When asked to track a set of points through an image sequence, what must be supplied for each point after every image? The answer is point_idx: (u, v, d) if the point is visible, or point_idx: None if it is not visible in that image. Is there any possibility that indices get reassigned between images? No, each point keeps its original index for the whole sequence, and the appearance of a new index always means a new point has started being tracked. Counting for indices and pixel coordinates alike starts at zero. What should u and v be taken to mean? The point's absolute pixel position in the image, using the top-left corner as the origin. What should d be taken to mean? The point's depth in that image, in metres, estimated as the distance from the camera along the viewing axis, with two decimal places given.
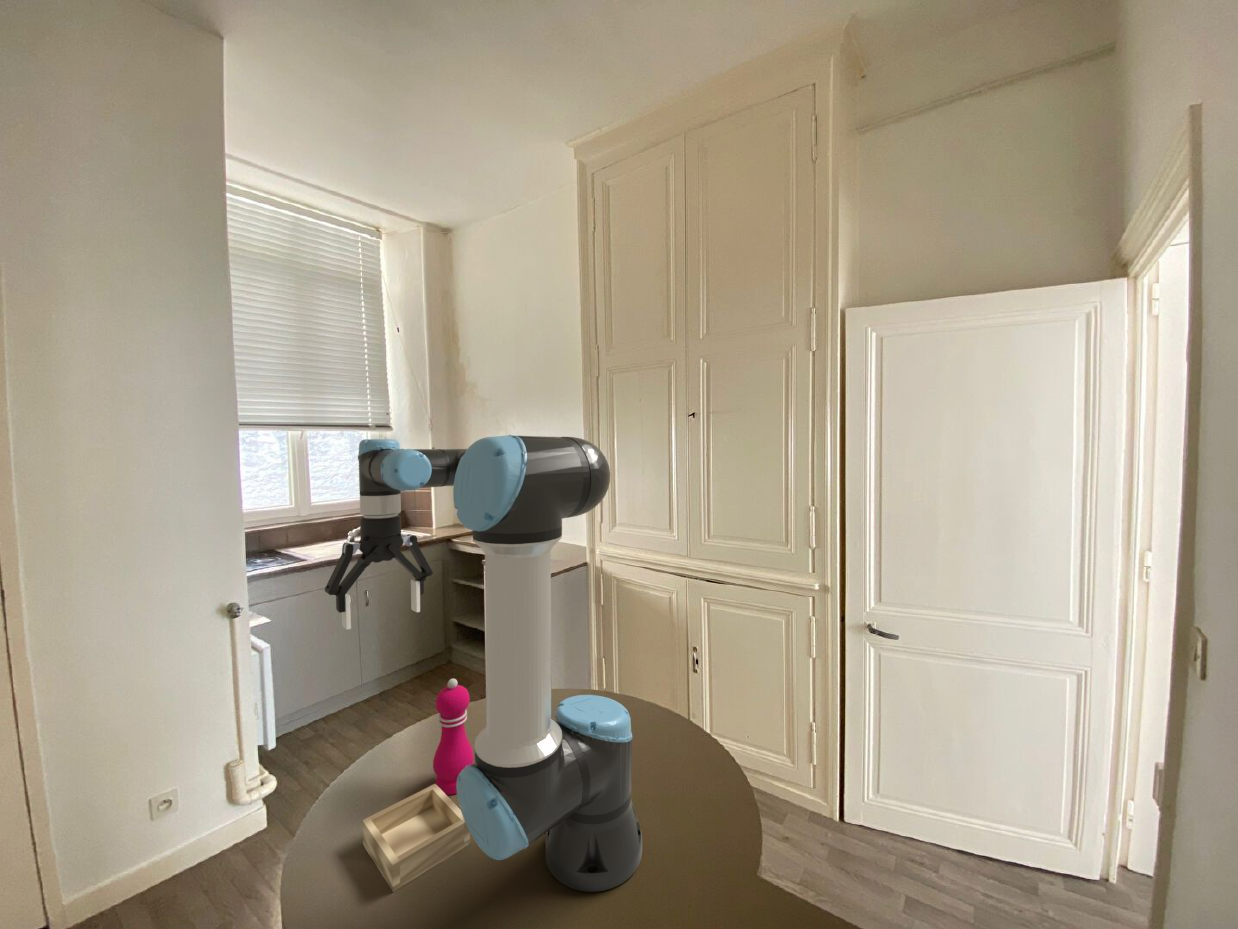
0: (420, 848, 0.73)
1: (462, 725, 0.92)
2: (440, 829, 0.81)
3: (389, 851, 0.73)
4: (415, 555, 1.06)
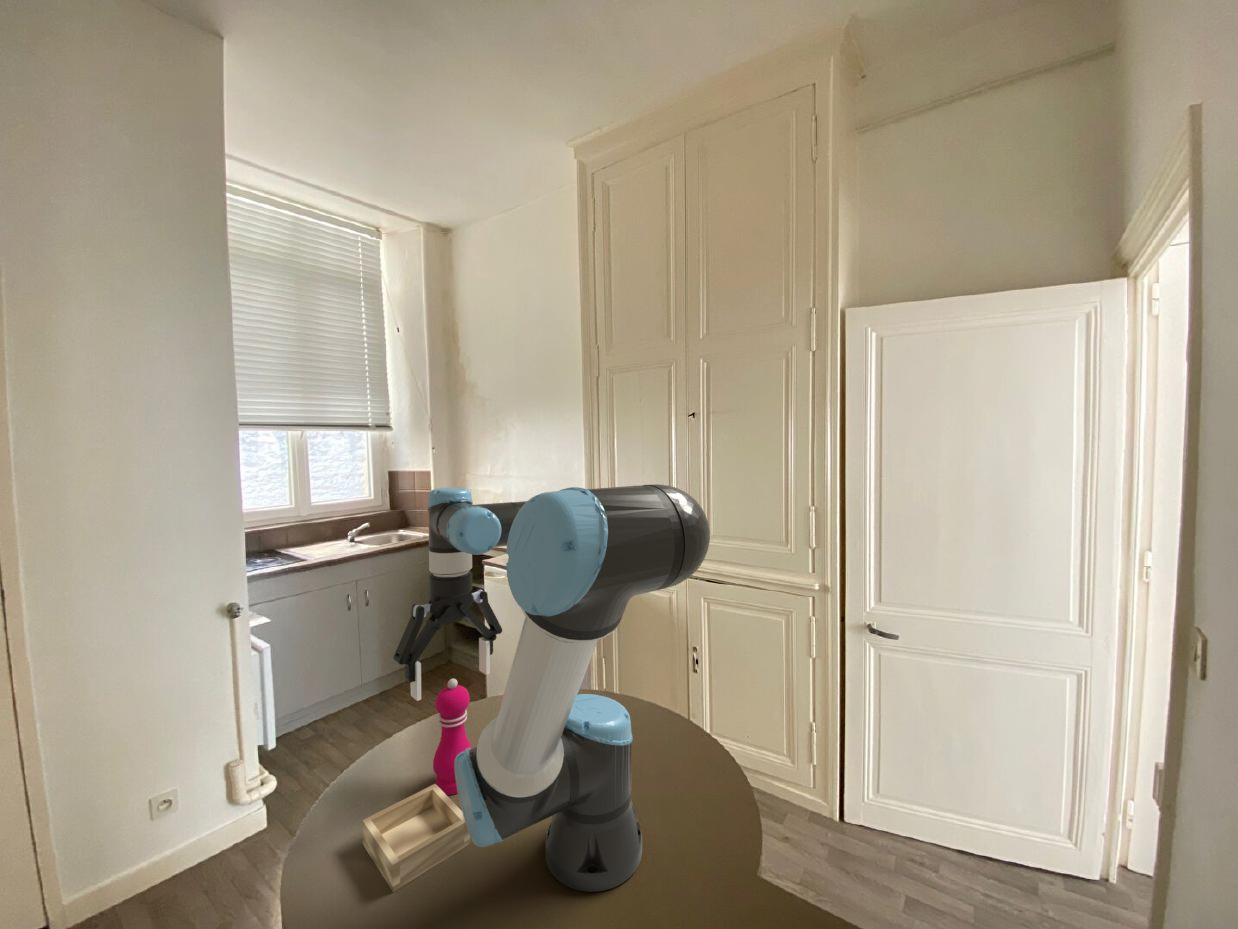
0: (420, 848, 0.73)
1: (462, 725, 0.92)
2: (440, 829, 0.81)
3: (389, 851, 0.73)
4: (485, 612, 0.97)
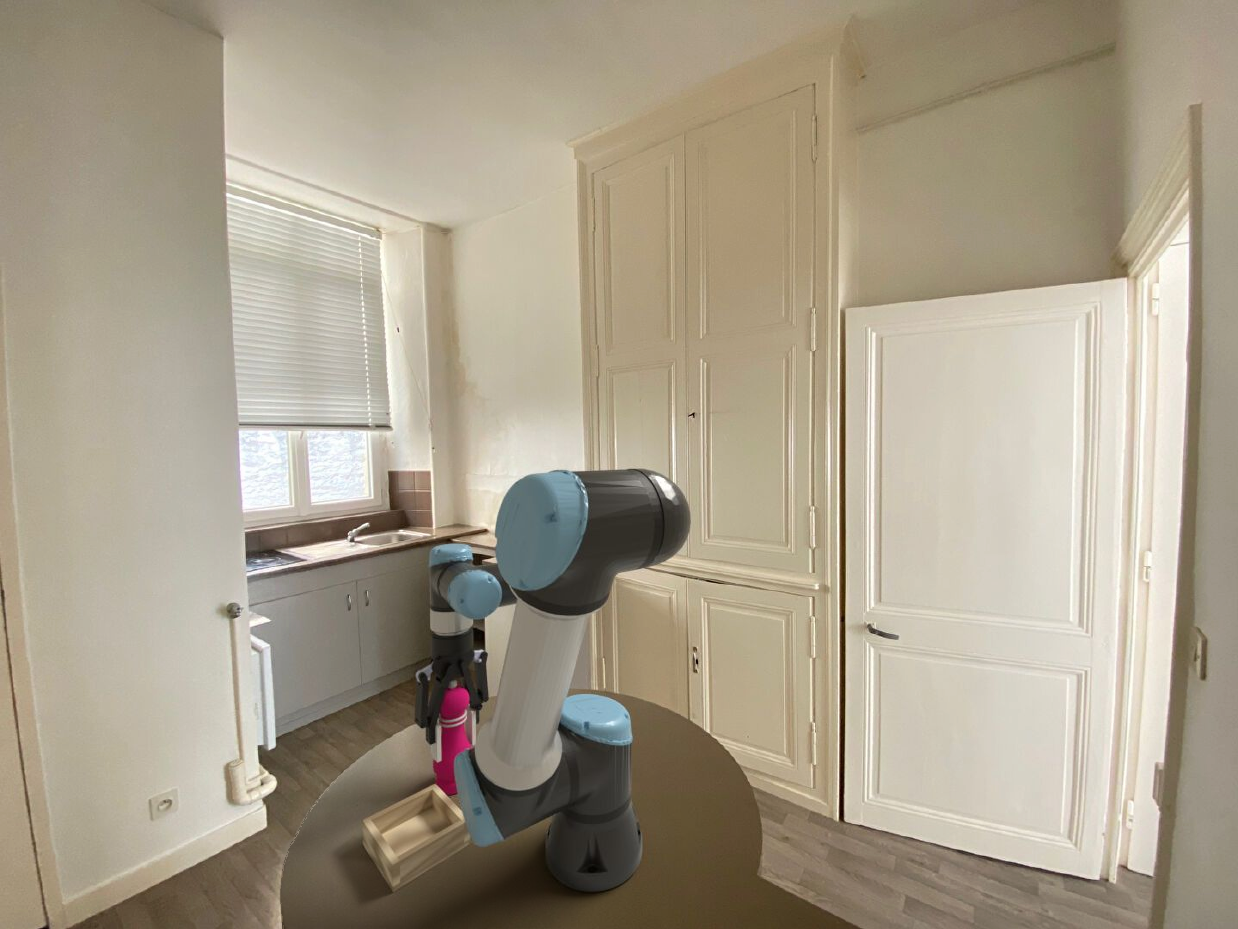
0: (420, 848, 0.73)
1: (462, 725, 0.92)
2: (440, 829, 0.81)
3: (389, 851, 0.73)
4: (479, 674, 0.96)
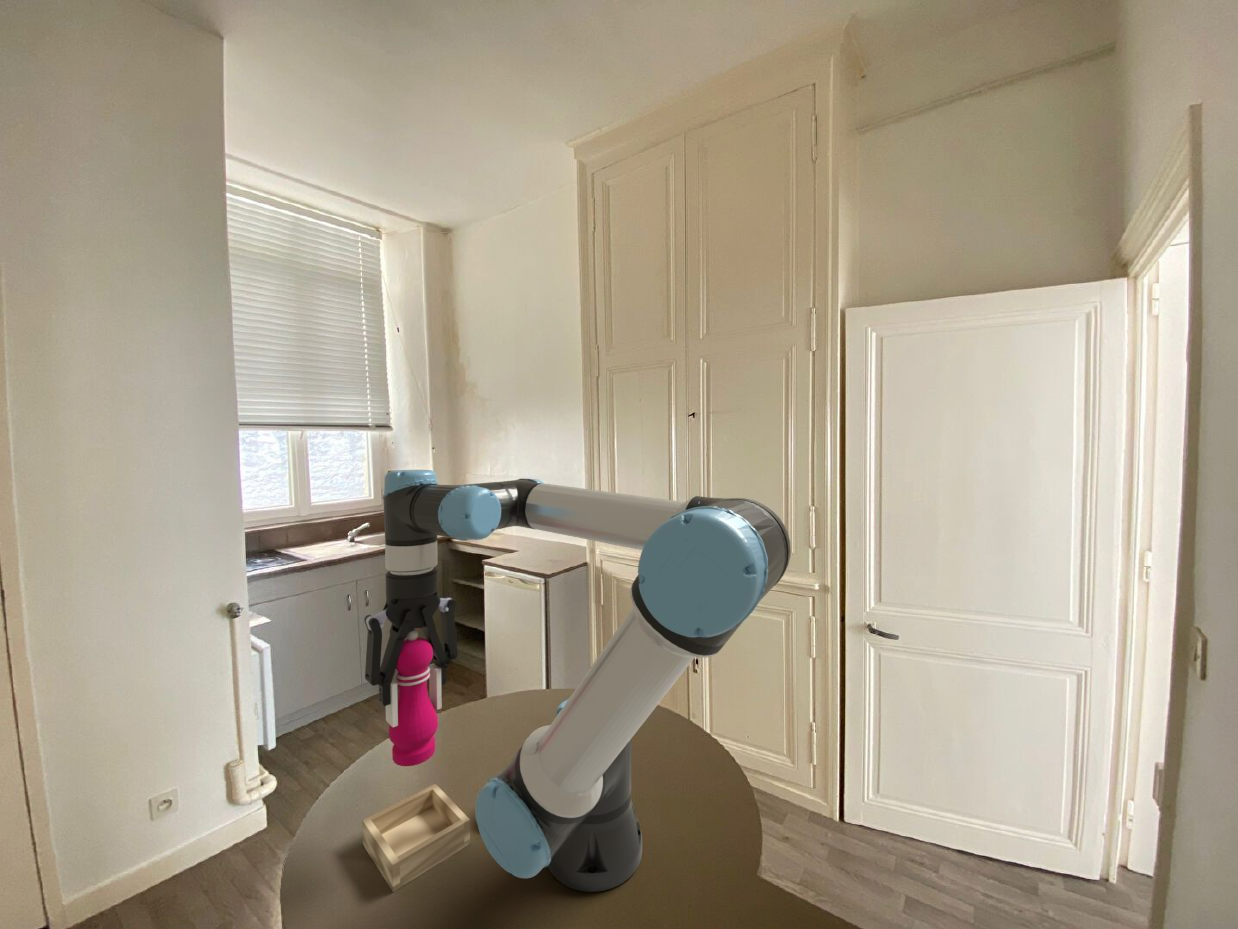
0: (420, 848, 0.73)
1: (423, 684, 0.77)
2: (440, 829, 0.81)
3: (389, 851, 0.73)
4: (445, 626, 0.81)
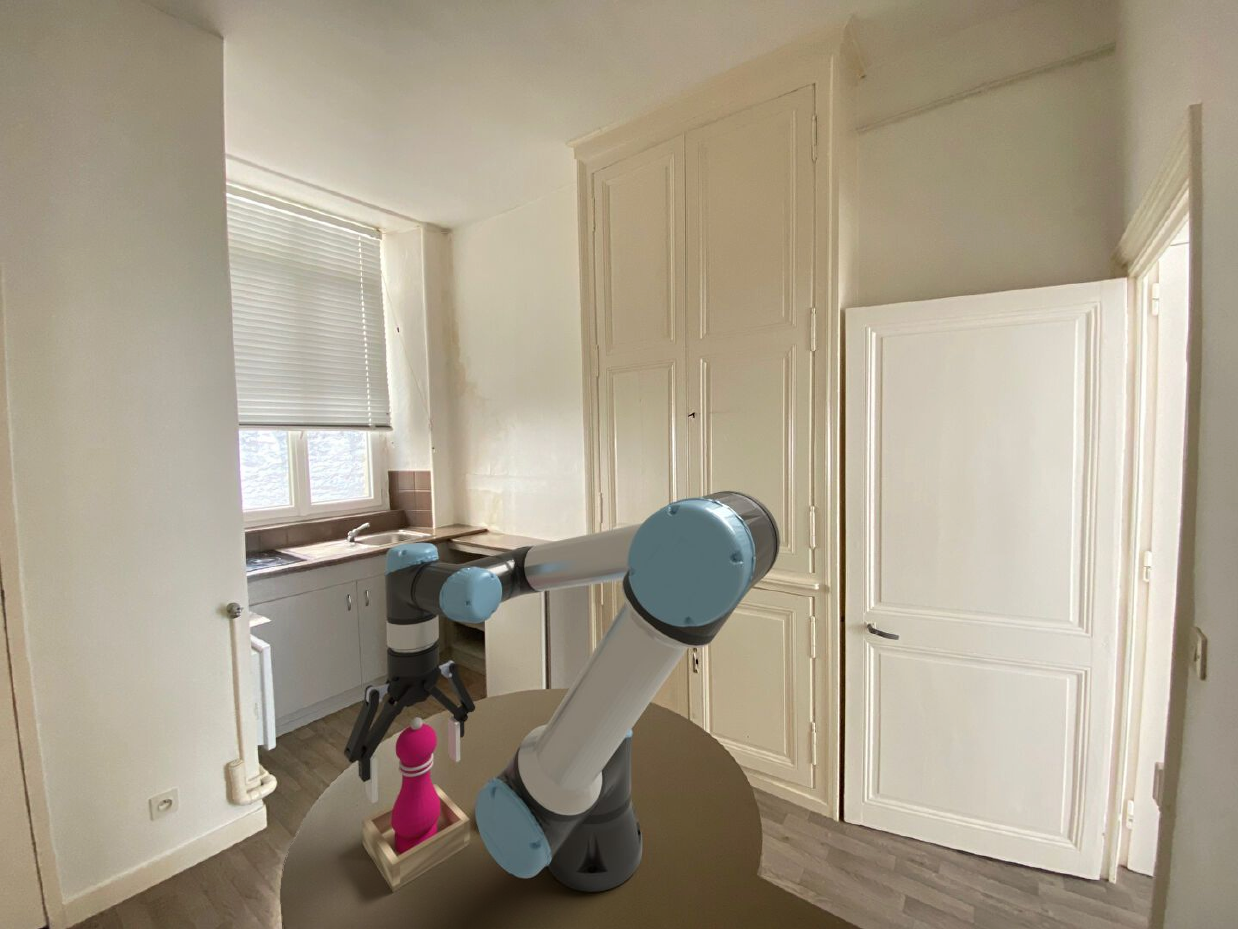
0: (420, 848, 0.73)
1: (427, 773, 0.78)
2: (440, 829, 0.81)
3: (389, 851, 0.73)
4: (455, 687, 0.83)
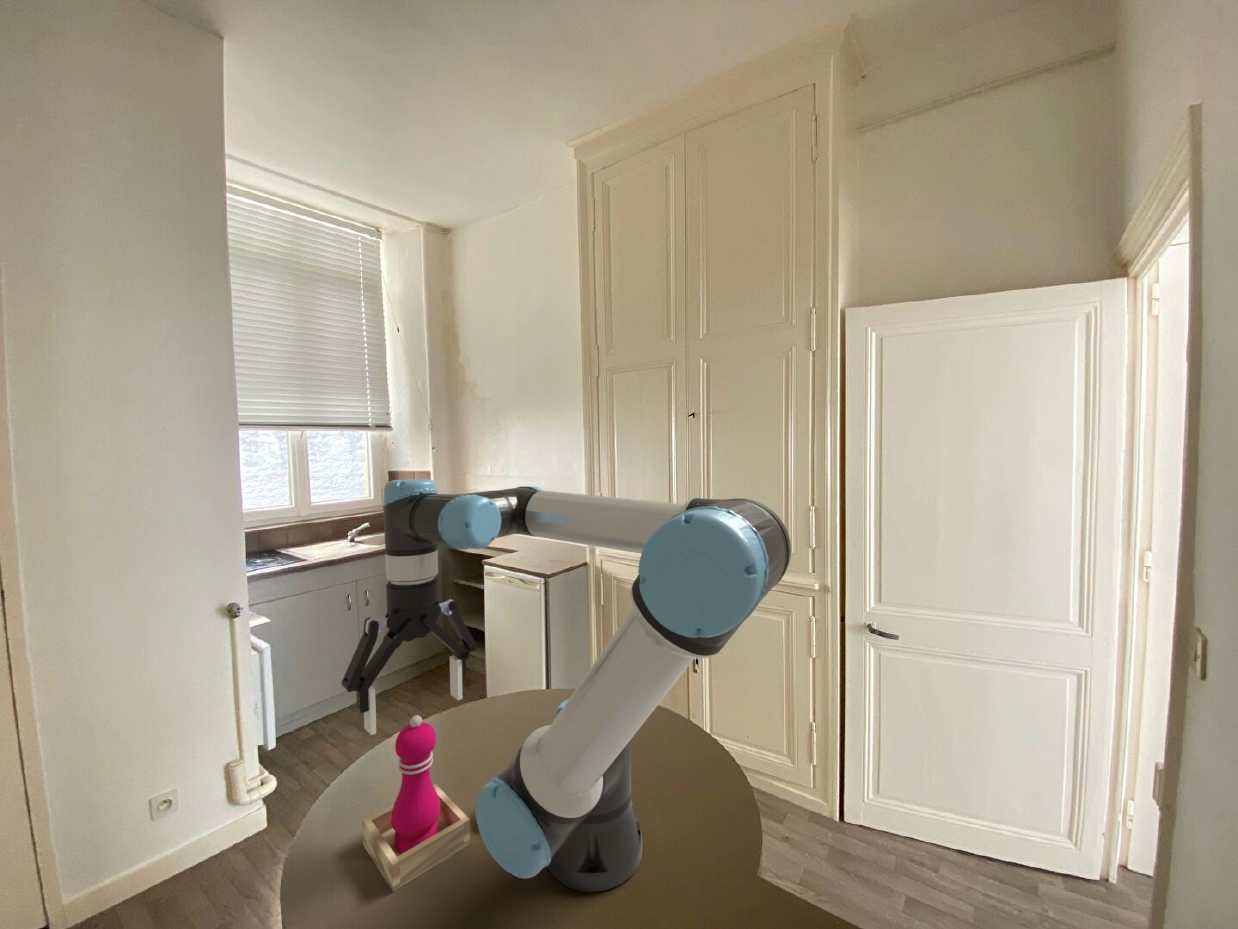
0: (420, 848, 0.73)
1: (426, 771, 0.78)
2: (440, 829, 0.81)
3: (389, 851, 0.73)
4: (455, 626, 0.82)
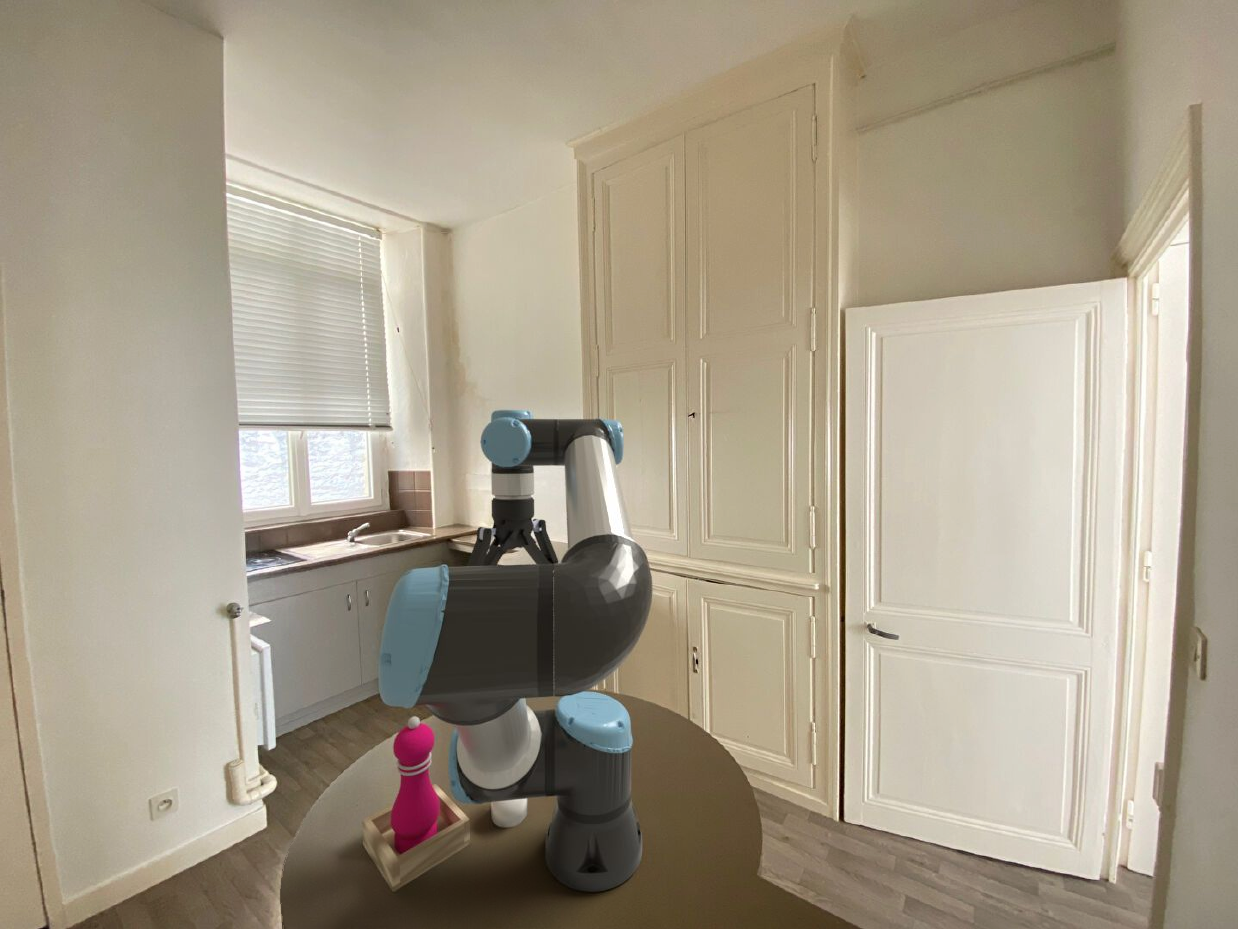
0: (420, 848, 0.73)
1: (425, 772, 0.78)
2: (440, 829, 0.81)
3: (389, 851, 0.73)
4: (542, 542, 0.95)
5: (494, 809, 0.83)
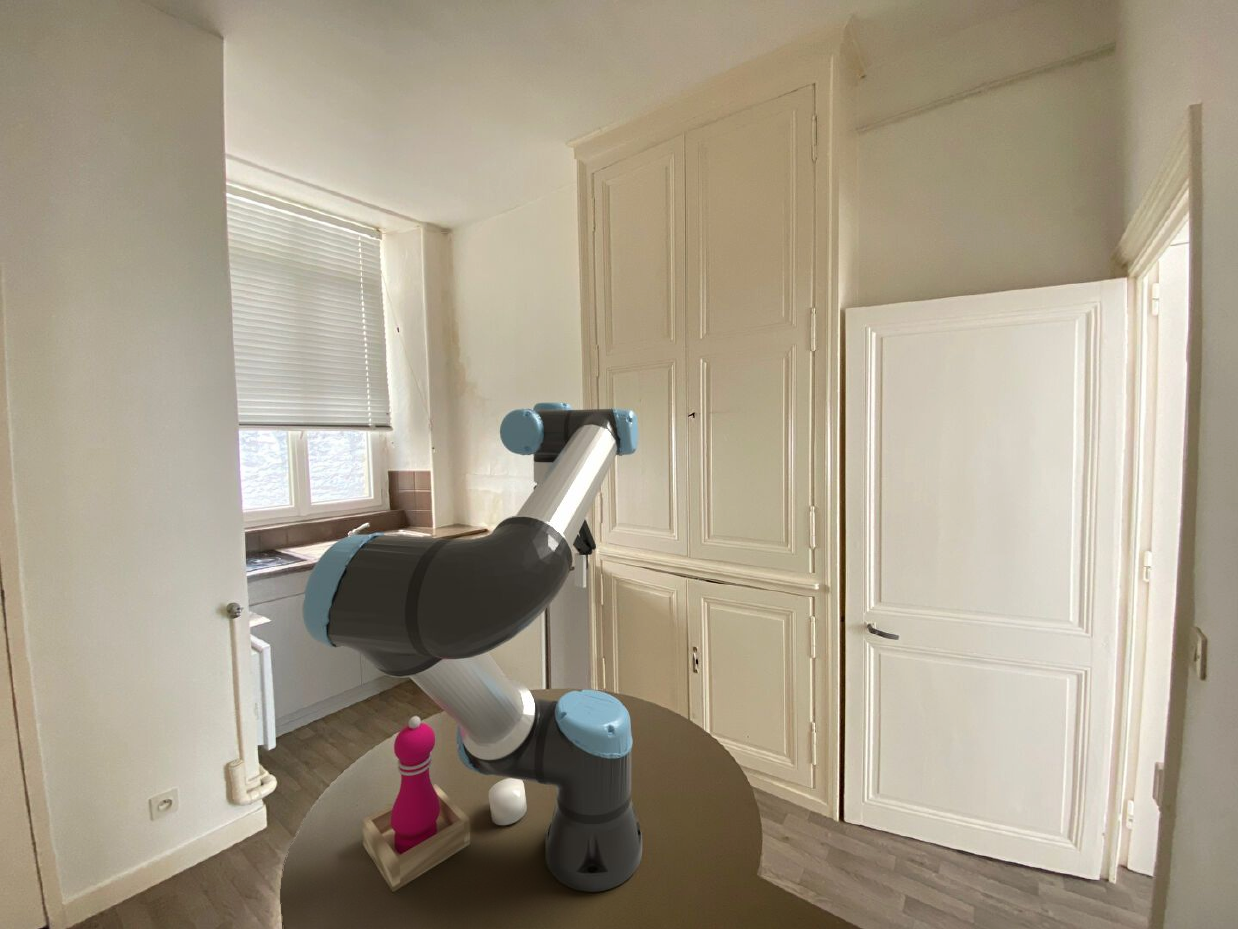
0: (420, 848, 0.73)
1: (426, 772, 0.78)
2: (440, 829, 0.81)
3: (389, 851, 0.73)
4: (581, 527, 1.00)
5: (501, 809, 0.83)
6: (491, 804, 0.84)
